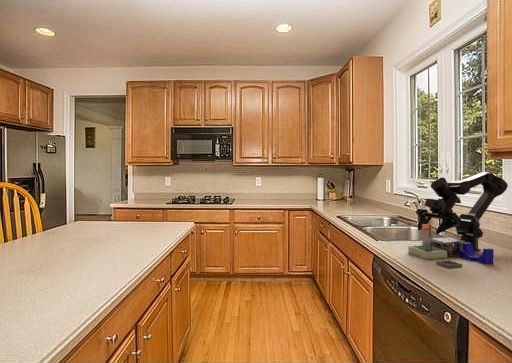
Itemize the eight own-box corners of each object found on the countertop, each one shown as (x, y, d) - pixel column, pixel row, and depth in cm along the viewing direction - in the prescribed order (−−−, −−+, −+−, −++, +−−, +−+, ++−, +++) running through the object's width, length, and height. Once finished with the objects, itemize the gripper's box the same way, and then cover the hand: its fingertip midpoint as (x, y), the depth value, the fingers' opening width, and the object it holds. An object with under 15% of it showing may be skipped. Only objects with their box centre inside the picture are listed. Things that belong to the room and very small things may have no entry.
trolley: (449, 249, 153) (449, 236, 152) (472, 255, 140) (472, 241, 140) (423, 251, 150) (423, 237, 150) (444, 258, 138) (444, 243, 138)
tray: (427, 251, 149) (427, 244, 149) (447, 258, 138) (447, 250, 138) (408, 252, 147) (408, 246, 147) (427, 259, 136) (427, 252, 136)
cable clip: (459, 257, 139) (459, 242, 139) (469, 256, 140) (469, 242, 140) (482, 265, 127) (482, 249, 127) (493, 264, 128) (493, 249, 128)
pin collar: (449, 262, 131) (449, 260, 131) (462, 266, 125) (462, 264, 125) (436, 263, 130) (436, 261, 130) (448, 268, 124) (448, 265, 124)
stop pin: (430, 253, 144) (430, 224, 144) (432, 255, 140) (432, 225, 140) (421, 252, 145) (421, 223, 144) (423, 254, 141) (423, 225, 141)
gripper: (418, 190, 152) (399, 216, 149) (456, 192, 135) (436, 222, 131) (431, 206, 155) (413, 232, 152) (470, 211, 138) (450, 240, 134)
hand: (427, 231), depth 142 cm, fingers open, 9 cm apart
